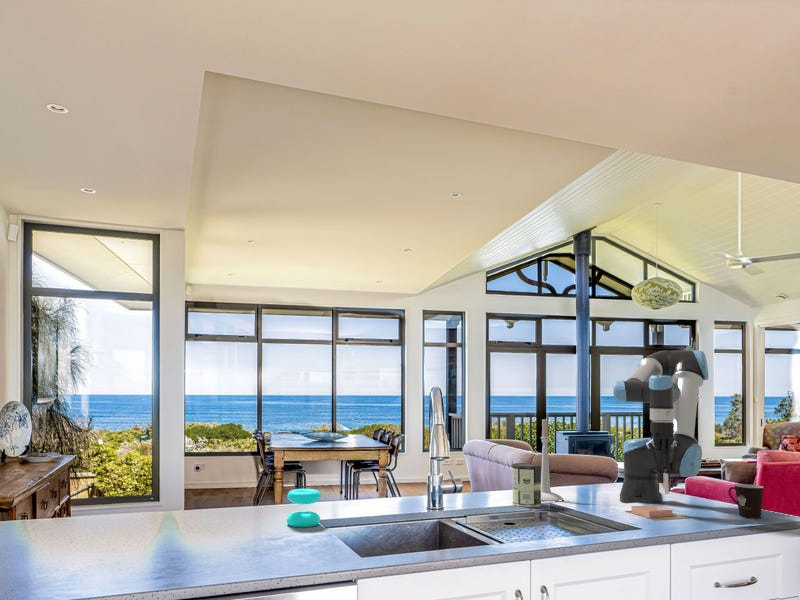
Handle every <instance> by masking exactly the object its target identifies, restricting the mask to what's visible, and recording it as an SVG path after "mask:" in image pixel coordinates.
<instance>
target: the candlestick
mask: <svg viewBox="0 0 800 600" xmlns="http://www.w3.org/2000/svg"><path fill="white" fill-rule="evenodd" d="M548 426H549V425H548V419H546V418H544V419H541V427H542V429H541V437H539V438H540V439H541V443H542V448H541V449H542V450H541V453H542V454H541V501H559V500H564V498H563V496H561V495H560V494H558V493H556V492H553V491H552V490H551V484H550V483H551V482H550V481H551V479H550V477H551V476H550V465H549V448H548V447H549V446H548V443H549V441H550V440H549V439H550V437H549V436H548V435H549V434H548V433H549V432H548V430H549V429H548Z"/></svg>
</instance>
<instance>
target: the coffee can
mask: <svg viewBox="0 0 800 600" xmlns="http://www.w3.org/2000/svg"><path fill="white" fill-rule="evenodd" d="M511 470H512V472H511V476H512V477H511V479H512V480H511V481H512V483H511V484H512V486H511V488H512V489H511V490H512V492H511V493H512V504H511V505H513V506H515V505H516V506H515V507H522V508H539V507H541V506H542V502H541V470H542V464H538V463H532V462H530V463H529V462H518V463H512V464H511Z"/></svg>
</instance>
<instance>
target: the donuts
mask: <svg viewBox="0 0 800 600" xmlns="http://www.w3.org/2000/svg"><path fill="white" fill-rule="evenodd" d="M286 497H287V499H288V501H290V503H293V504H297V505H311V504H315V503H317V502H319V501H320V499H321V497H322V494H321V492H320V491H319V490H318V489H313V488H296V489H292V490H289V492H288V493H287V495H286ZM320 522H321V517H320V515H319V514H318V513H316V512H314V511H312V510H311V511H309V510H300V511H299V510H298V511H293V512H291V513H290V514H288V516H287V518H286V523H287V524H288V525H289V526H290V527H294V528H312V527H315V526H318V525H319V524H320Z"/></svg>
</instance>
